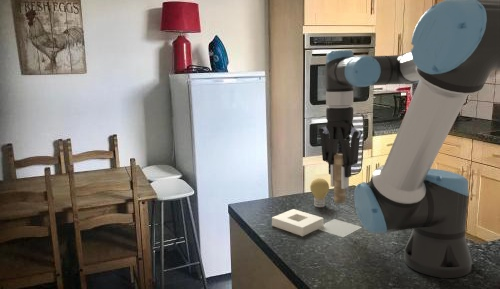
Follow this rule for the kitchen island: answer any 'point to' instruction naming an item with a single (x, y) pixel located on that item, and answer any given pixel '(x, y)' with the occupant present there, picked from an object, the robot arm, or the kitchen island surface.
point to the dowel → (338, 179)
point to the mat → (339, 228)
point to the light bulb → (319, 191)
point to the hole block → (297, 222)
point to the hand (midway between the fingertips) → (339, 186)
